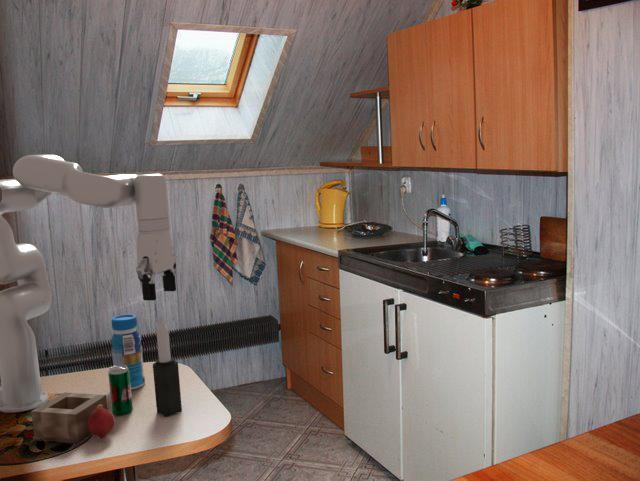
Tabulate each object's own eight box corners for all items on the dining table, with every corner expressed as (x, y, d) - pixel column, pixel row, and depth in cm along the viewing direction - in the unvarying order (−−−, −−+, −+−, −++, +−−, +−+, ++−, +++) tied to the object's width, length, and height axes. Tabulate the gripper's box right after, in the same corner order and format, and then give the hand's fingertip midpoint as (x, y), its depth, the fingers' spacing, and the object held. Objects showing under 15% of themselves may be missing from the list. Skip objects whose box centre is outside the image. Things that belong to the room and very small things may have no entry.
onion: (100, 445, 150) (97, 411, 149) (83, 440, 153) (80, 407, 152) (120, 435, 155) (117, 402, 153) (104, 431, 158) (100, 398, 156)
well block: (34, 439, 155) (31, 411, 154) (67, 419, 166) (64, 392, 165) (78, 443, 151) (75, 414, 150) (109, 422, 163) (106, 394, 162)
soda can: (127, 417, 165) (122, 370, 164) (108, 416, 166) (103, 370, 165) (136, 409, 170) (132, 364, 169) (118, 408, 171) (114, 363, 170)
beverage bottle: (109, 390, 185) (102, 320, 182) (124, 380, 193) (117, 313, 190) (136, 391, 183) (130, 321, 180) (150, 380, 191) (144, 313, 188)
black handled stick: (155, 412, 167) (146, 316, 164) (172, 406, 171) (163, 311, 167) (166, 417, 164) (158, 319, 160) (183, 410, 167) (175, 314, 164)
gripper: (158, 221, 168) (164, 287, 171) (120, 230, 152) (127, 303, 154) (184, 221, 166) (190, 287, 169) (149, 230, 150) (155, 304, 152)
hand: (160, 295), depth 161 cm, fingers open, 9 cm apart
